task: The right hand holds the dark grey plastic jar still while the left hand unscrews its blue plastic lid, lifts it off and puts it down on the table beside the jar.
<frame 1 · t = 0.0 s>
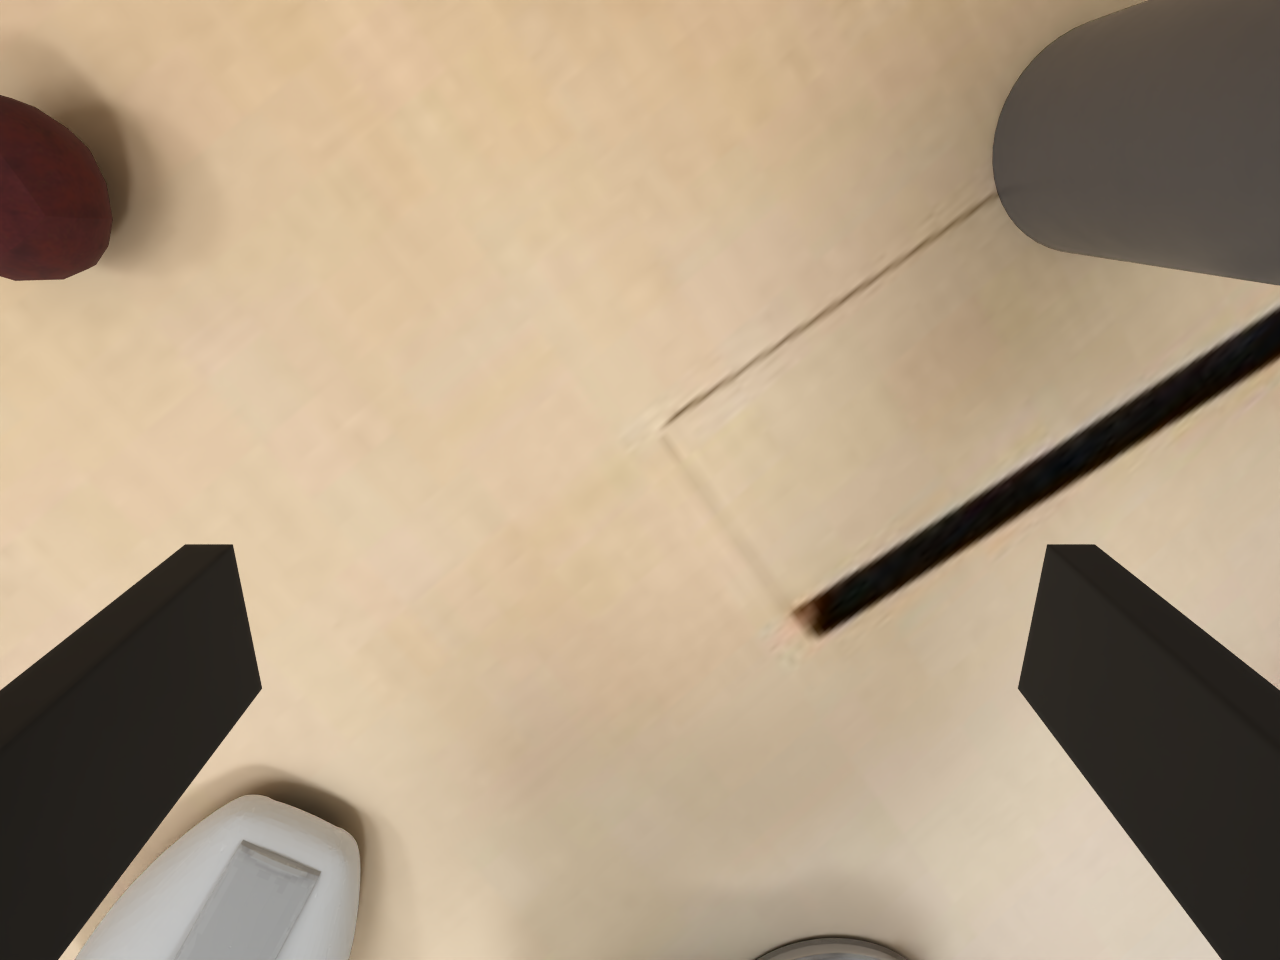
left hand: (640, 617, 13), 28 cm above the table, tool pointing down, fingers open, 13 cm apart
jar: (1102, 140, 36), on the table
dark red ball: (69, 192, 37), on the table
projector: (246, 908, 53), on the table
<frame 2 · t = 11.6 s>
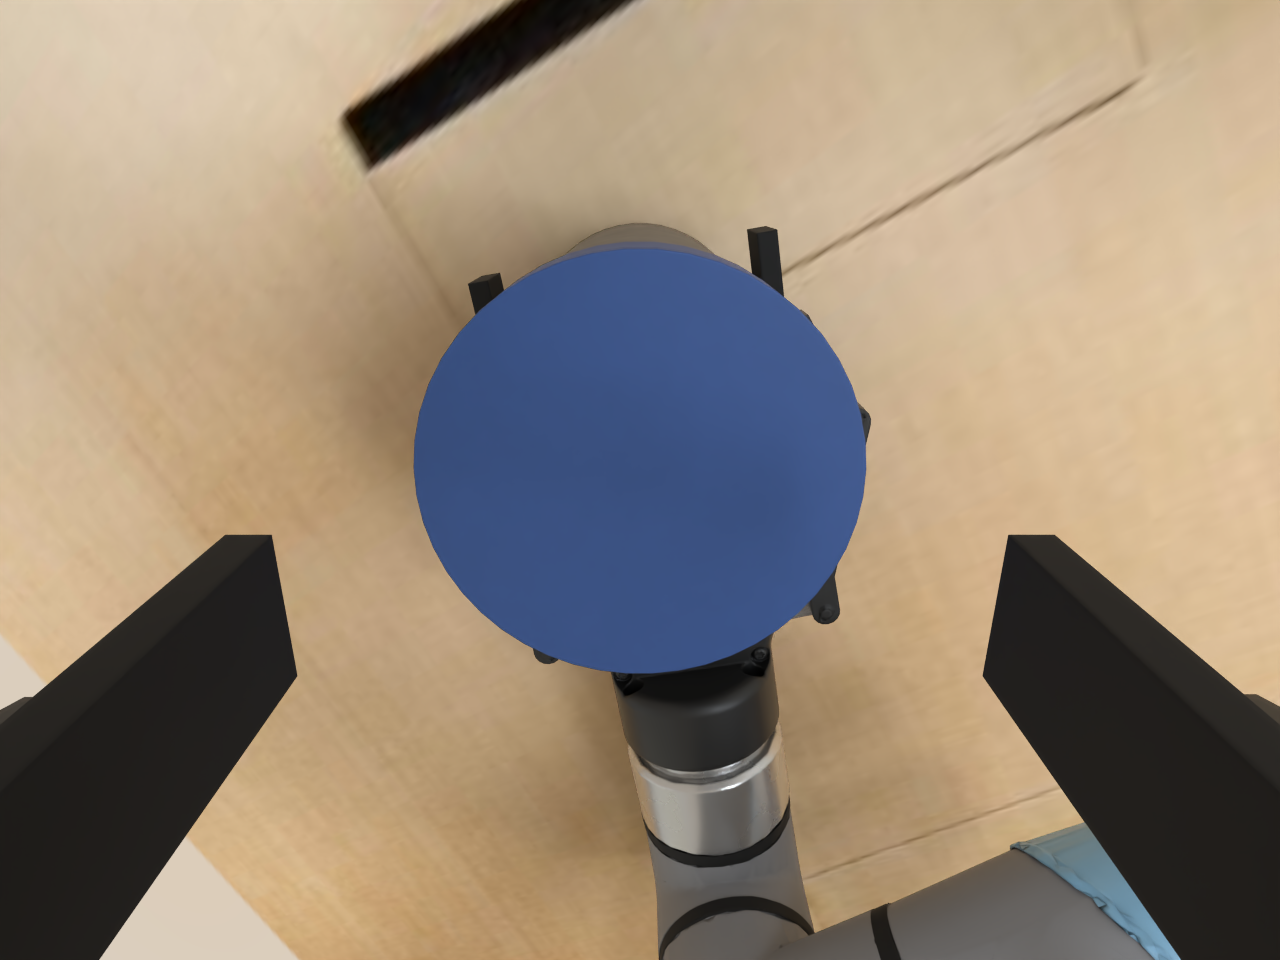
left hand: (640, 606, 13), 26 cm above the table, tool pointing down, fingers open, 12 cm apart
jar: (640, 332, 38), on the table, touching right hand
lid: (639, 477, 19), point 20 cm above the table, screwed on, not yet turned
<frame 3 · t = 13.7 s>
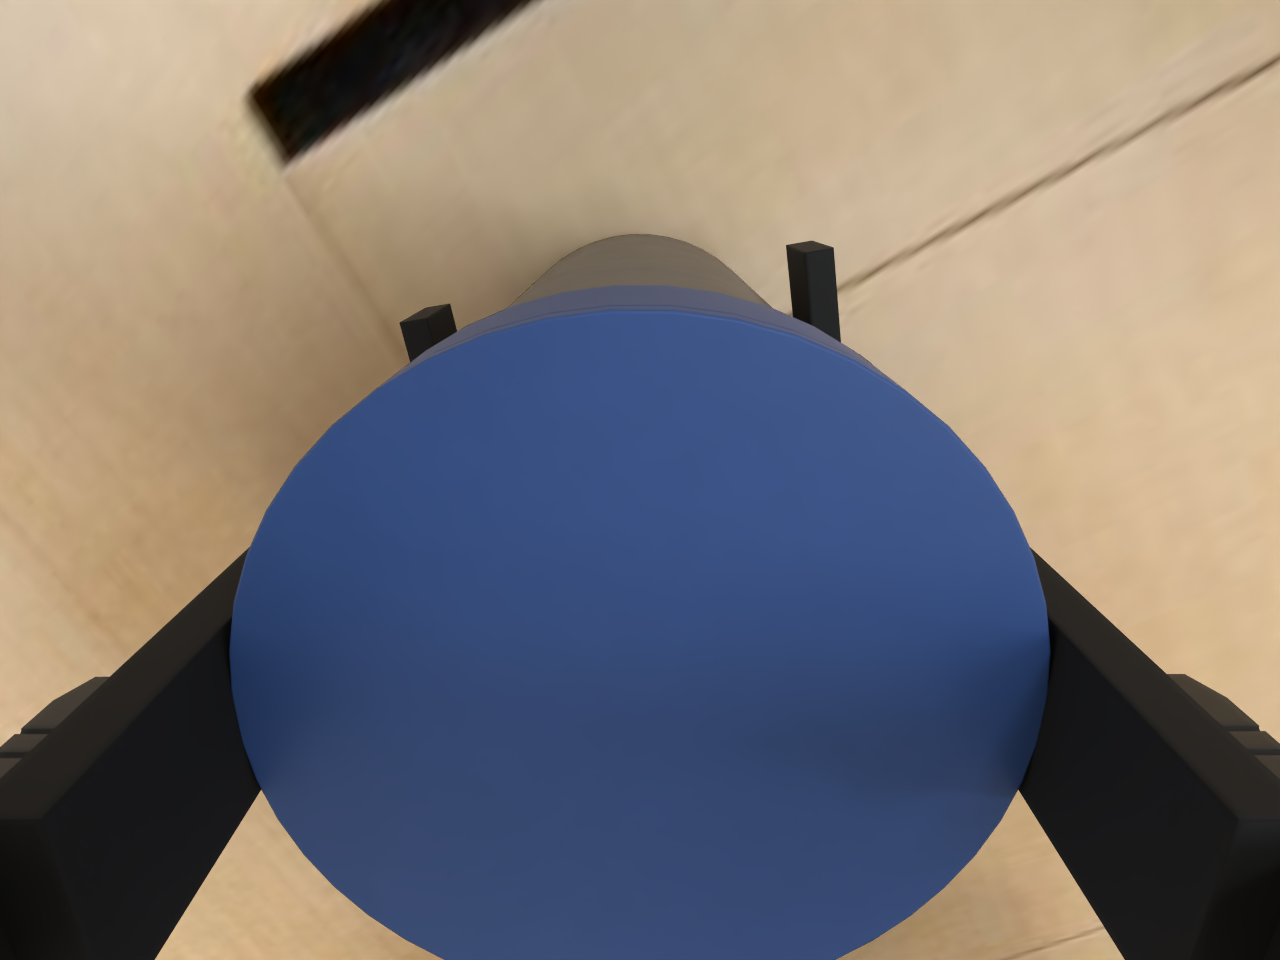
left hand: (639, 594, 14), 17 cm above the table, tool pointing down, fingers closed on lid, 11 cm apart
jar: (639, 373, 30), on the table, touching right hand
lid: (639, 703, 11), point 20 cm above the table, screwed on, not yet turned, touching left hand
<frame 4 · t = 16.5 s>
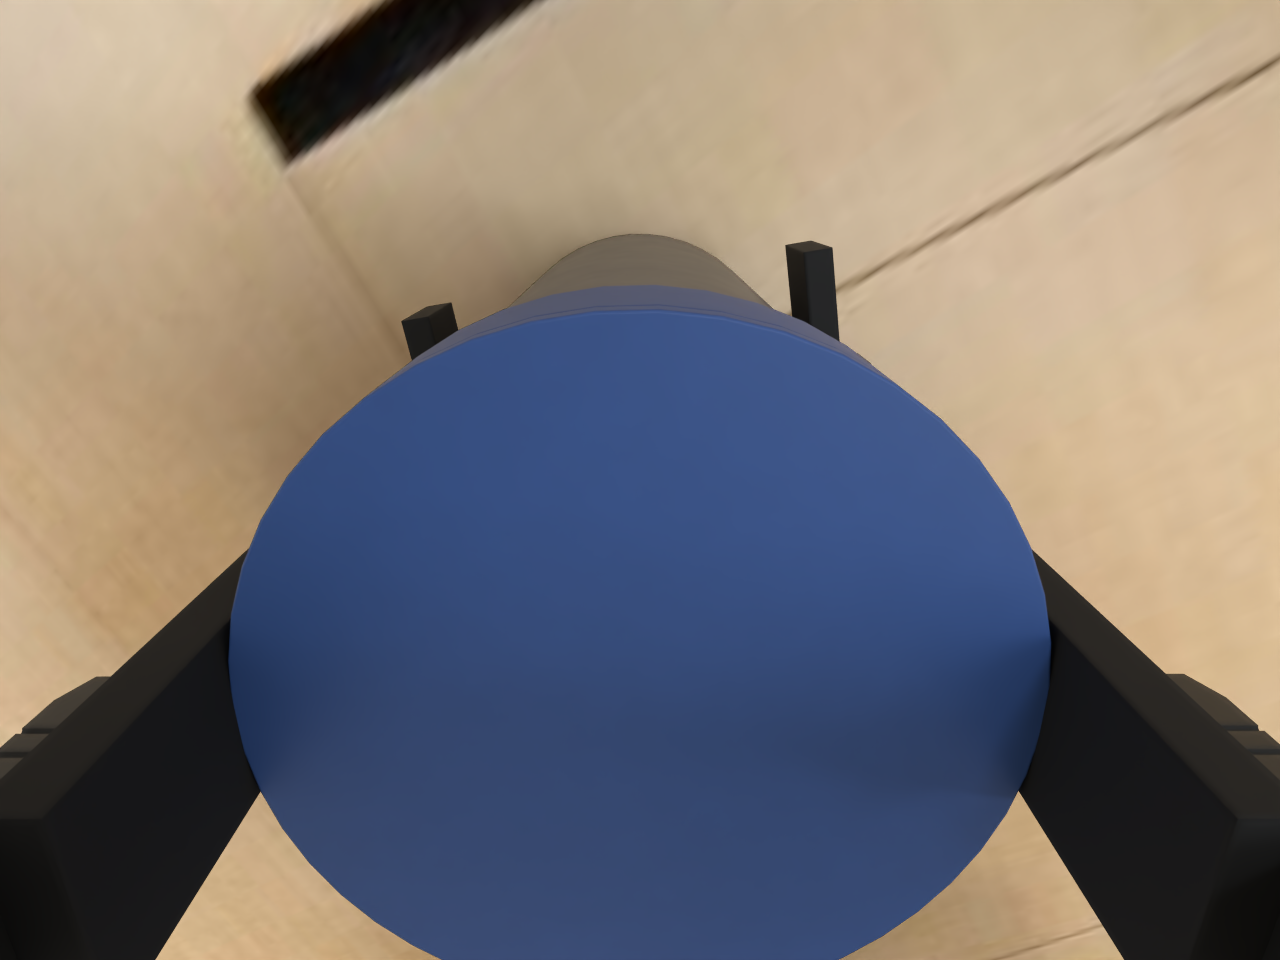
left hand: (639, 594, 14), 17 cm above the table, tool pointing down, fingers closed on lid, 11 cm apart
jar: (639, 372, 30), on the table, touching right hand
lid: (639, 704, 11), point 20 cm above the table, turned 69° so far, risen 0.2 cm, still on its thread, touching left hand
when the left hand's fingers open (0 cm above the table, at t = 22.8 s): lid drops 1 cm, point 2 cm above the table.
when the right hand's fingers open (7 cm above the table, at t = 23.8 s): jar stays where it is, on the table.
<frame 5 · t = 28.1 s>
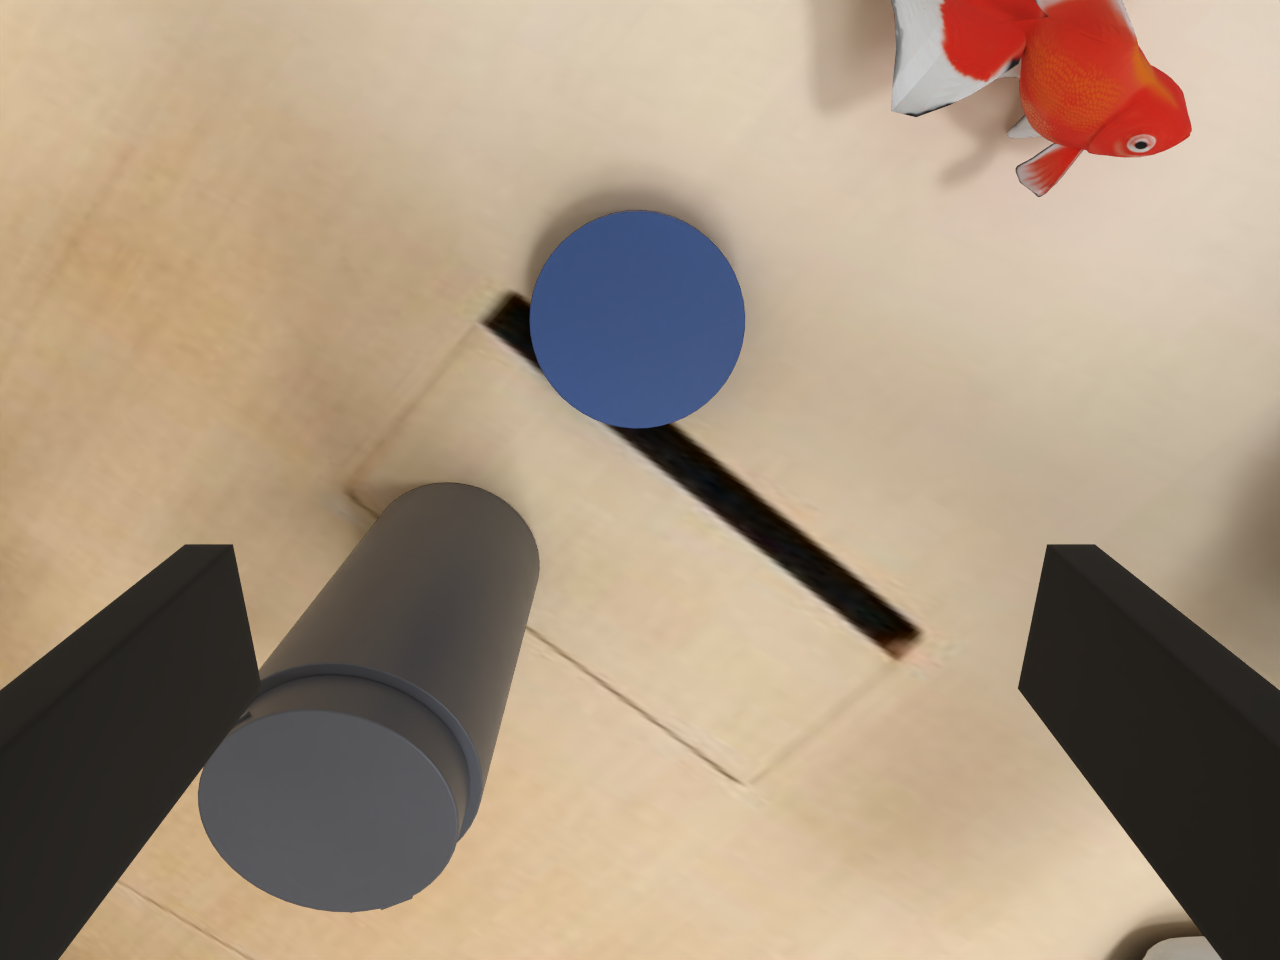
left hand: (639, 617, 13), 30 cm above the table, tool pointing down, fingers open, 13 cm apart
jar: (454, 561, 46), on the table
lid: (637, 324, 39), point 2 cm above the table, off its thread
fish: (971, 59, 37), on the table
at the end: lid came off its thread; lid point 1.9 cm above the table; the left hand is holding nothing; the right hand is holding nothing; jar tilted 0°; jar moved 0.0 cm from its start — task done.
